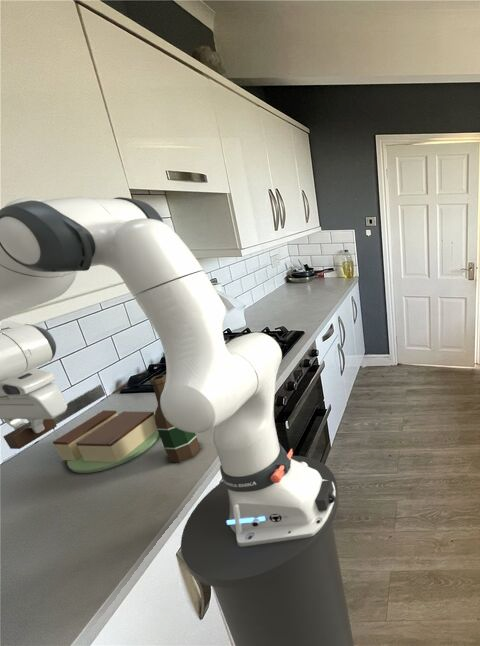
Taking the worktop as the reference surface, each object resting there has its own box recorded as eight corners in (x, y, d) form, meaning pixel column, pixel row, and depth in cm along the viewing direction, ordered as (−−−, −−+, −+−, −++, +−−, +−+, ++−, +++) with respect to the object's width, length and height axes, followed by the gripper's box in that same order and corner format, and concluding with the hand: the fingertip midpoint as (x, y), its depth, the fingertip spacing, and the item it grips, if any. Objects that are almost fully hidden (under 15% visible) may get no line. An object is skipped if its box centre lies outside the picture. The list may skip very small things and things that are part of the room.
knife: (108, 394, 100) (104, 384, 98) (19, 449, 79) (12, 436, 78) (101, 394, 100) (96, 384, 98) (10, 448, 79) (2, 436, 78)
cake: (175, 424, 108) (169, 405, 105) (118, 474, 89) (108, 452, 87) (115, 423, 109) (107, 405, 107) (46, 472, 91) (34, 450, 88)
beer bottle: (204, 440, 101) (180, 367, 92) (196, 459, 94) (170, 381, 85) (173, 447, 98) (146, 372, 90) (163, 466, 92) (132, 387, 83)
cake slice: (123, 427, 106) (116, 410, 104) (75, 460, 93) (66, 442, 91) (110, 426, 106) (103, 410, 104) (61, 459, 93) (52, 441, 91)
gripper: (-58, 388, 75) (-26, 439, 80) (28, 388, 74) (56, 440, 79) (-21, 373, 81) (7, 422, 86) (60, 373, 80) (83, 423, 85)
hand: (31, 431), depth 82 cm, fingers closed on knife, 2 cm apart
